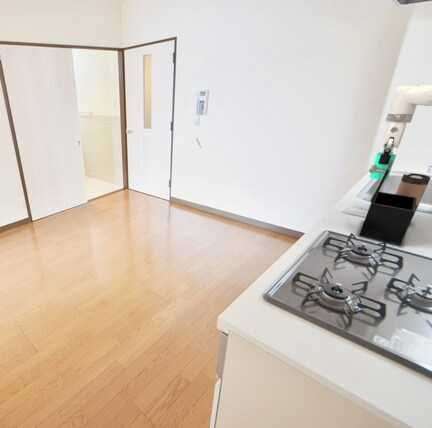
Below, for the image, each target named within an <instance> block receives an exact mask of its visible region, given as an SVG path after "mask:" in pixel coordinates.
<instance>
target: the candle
mask: <svg viewBox="0 0 432 428" xmlns="http://www.w3.org/2000/svg"><path fill="white" fill-rule="evenodd" d="M382 152H383V151H382ZM382 152H381V151H380V152H377V153H376V155H375V159H374V162H373V165H377V167H380V168H385V169H386V168H387V166H388V164H387V165H386V164H378V162H379V159H380V156H381V154H382ZM396 157H397V154H395V153H391V158H390V161H391V160H392V161H393V163H392V166H391V168H390V171H389V173H388V175H387V177H386V178H385V180H389V176H390V175H391V171H392V169H393V165H394V162H395V160H396ZM390 161H389V162H390ZM376 170H378V169H376ZM378 171H383V170H378ZM383 172H385V171H383ZM382 176H383V174H382V173H377V172H374V173H370V174H369V178H371V179H375V180H381V178H382Z"/></svg>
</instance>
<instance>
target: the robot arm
mask: <svg viewBox="0 0 432 428" xmlns="http://www.w3.org/2000/svg"><path fill="white" fill-rule="evenodd" d="M417 106H424V107H431V106H432V84H424V85H420V84H404V85H403V84H402V85H400V86H397V87H396V88H395V91H394V93H393V95H392V100H391V102H390V106H389V109H388V112H387V115H386V117H385V120H384V123H387V126H386V130H385V132H384V133H385V134H384V137H383V142H382V148H383V149H382V154H381V156H380V159H379V162H378V164H386V165H387V164H389V161H390V158H391V153H392V154H394V152H393V150H394V148H395V149H398V148H399V147H400V145H401V142H402V138H403V136H404V134H405V130H406V128H407V124H411V122H412V120H413V117H414V114H415V111H416V109H417Z"/></svg>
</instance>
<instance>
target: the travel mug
mask: <svg viewBox="0 0 432 428" xmlns="http://www.w3.org/2000/svg"><path fill="white" fill-rule="evenodd" d="M430 181H431V176H430V175H425V174H421V173H416V172H415V173H414V172H413V173H409V174H405V173H403V175H402V177H401V180H400V181H399V184H398V186H397V189H396V191H395V194H397V195H403V196H410V197H416V198H417V200H416V210H417V209H418V207H419V206H420V203H421V202H422V199H423V196H424V194H425V192H426V190H427V188H428V185H429V183H430Z"/></svg>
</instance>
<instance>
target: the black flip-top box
mask: <svg viewBox="0 0 432 428" xmlns="http://www.w3.org/2000/svg"><path fill="white" fill-rule="evenodd" d="M416 200H417V198H416V197H410V196H403V195H397V194H396V193H391V192H384V191H379V192H378V194H377V195H376V197H375V199H374V201H373V203H372V202H370V204H369V208H368V210H367V213H366V215H365V218H364V221H363V224H362V226H361V228H360V231H359V234H358V236H359V237H360V238H361V237H362V238H365V239H368V240H369V239H370V240H374V241H377V242H378V241H379V242H382V243H385V242H386V244H390V245H393V246H398V247H400V246H401V245H402V243H403V240H404V239H405V236H406V234H407V231H408V229H409V227H410V225H411V222H412V221H413V218H414V217H415V214H416V211H417V209H416Z"/></svg>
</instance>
